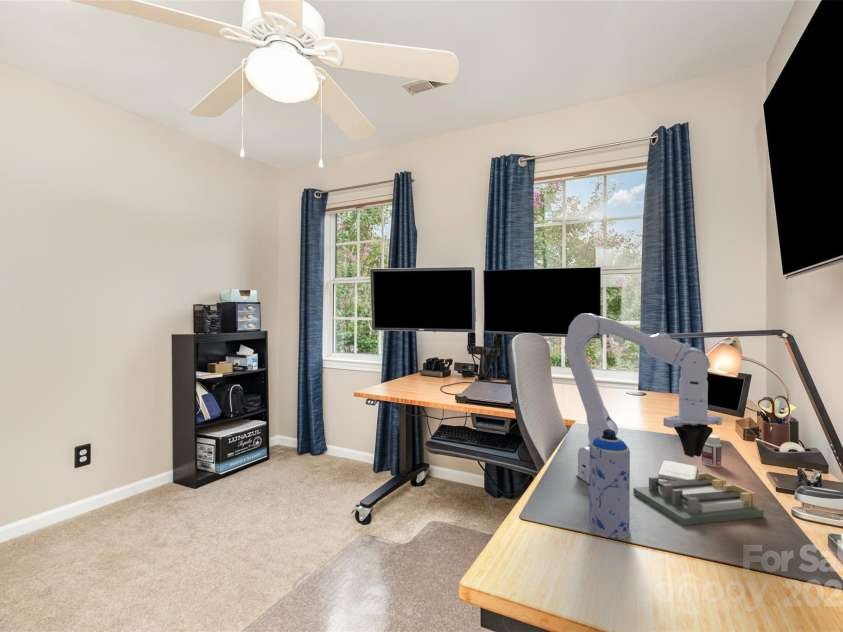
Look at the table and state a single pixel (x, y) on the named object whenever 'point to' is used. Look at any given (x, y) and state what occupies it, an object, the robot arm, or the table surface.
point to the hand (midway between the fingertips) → (692, 455)
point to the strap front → (712, 496)
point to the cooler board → (693, 518)
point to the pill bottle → (712, 451)
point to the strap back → (687, 483)
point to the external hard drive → (677, 471)
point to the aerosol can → (609, 486)
